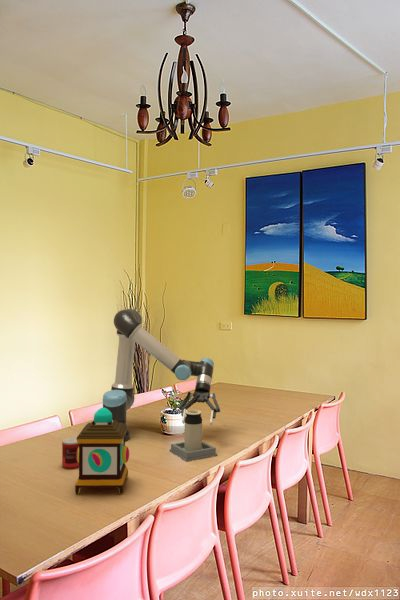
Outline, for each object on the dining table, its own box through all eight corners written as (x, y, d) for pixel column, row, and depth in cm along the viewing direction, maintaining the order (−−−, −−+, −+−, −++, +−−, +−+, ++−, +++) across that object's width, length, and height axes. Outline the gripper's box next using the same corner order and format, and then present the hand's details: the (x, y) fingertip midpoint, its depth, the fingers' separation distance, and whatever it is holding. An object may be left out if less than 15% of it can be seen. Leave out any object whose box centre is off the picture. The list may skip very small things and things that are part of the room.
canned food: (73, 461, 219) (73, 436, 219) (84, 465, 214) (85, 440, 214) (58, 466, 213) (58, 440, 213) (69, 470, 208) (69, 444, 208)
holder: (186, 461, 221) (186, 453, 220) (169, 451, 234) (169, 443, 234) (217, 455, 229) (217, 448, 229) (199, 446, 242) (199, 439, 242)
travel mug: (186, 454, 227) (187, 414, 226) (182, 448, 234) (183, 410, 234) (203, 452, 229) (204, 413, 229) (199, 447, 237) (199, 409, 236)
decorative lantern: (131, 476, 203) (132, 401, 202) (126, 496, 183) (126, 414, 183) (81, 476, 202) (81, 401, 202) (70, 496, 182) (70, 414, 182)
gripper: (228, 391, 255) (223, 428, 241) (180, 388, 260) (172, 425, 246) (227, 382, 250) (222, 420, 236) (178, 380, 255) (170, 417, 241)
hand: (197, 423), depth 241 cm, fingers open, 13 cm apart
